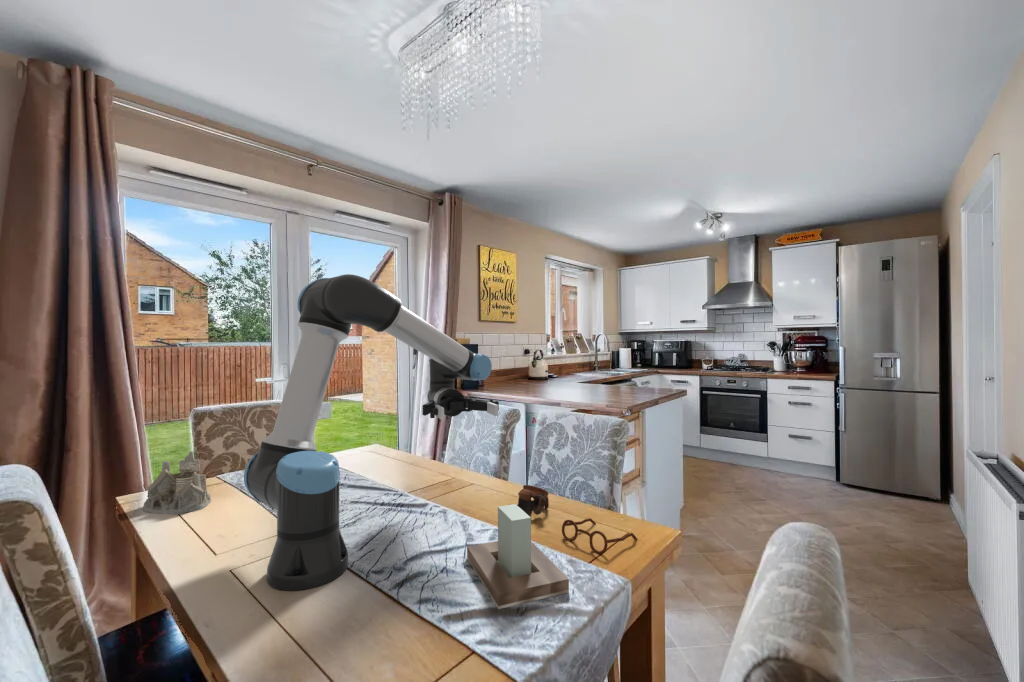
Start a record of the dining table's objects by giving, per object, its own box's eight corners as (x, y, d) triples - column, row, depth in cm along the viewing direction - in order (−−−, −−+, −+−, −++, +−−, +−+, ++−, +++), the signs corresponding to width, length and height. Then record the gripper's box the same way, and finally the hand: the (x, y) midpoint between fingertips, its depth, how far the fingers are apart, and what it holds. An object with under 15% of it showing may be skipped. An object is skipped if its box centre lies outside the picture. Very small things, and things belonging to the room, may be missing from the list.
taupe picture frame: (498, 609, 78) (498, 594, 78) (467, 558, 96) (467, 546, 96) (568, 592, 83) (568, 578, 83) (526, 547, 101) (526, 536, 101)
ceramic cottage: (147, 502, 131) (149, 452, 131) (213, 495, 139) (215, 447, 138) (132, 524, 117) (134, 468, 117) (207, 515, 125) (209, 462, 125)
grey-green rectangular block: (512, 583, 85) (511, 520, 85) (498, 564, 92) (497, 506, 93) (531, 579, 87) (530, 517, 87) (515, 560, 94) (515, 504, 94)
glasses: (560, 539, 107) (560, 518, 107) (594, 524, 115) (594, 505, 115) (605, 559, 97) (605, 536, 97) (639, 541, 105) (638, 520, 105)
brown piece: (506, 512, 124) (515, 482, 128) (534, 522, 127) (542, 493, 131) (527, 515, 114) (536, 483, 117) (557, 526, 117) (564, 494, 120)
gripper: (490, 412, 132) (517, 424, 112) (405, 417, 123) (418, 431, 103) (490, 387, 132) (517, 394, 112) (405, 390, 123) (418, 399, 103)
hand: (470, 412), depth 107 cm, fingers open, 13 cm apart
